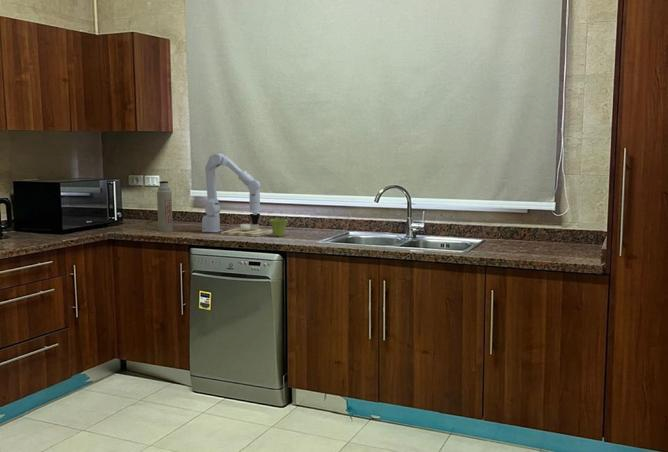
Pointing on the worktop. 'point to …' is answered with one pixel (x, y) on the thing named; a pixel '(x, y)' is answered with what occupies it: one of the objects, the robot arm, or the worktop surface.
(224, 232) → the birch board
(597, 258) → the worktop surface
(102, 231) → the worktop surface
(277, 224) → the plant pot
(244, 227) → the cream cap
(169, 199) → the thermos bottle
